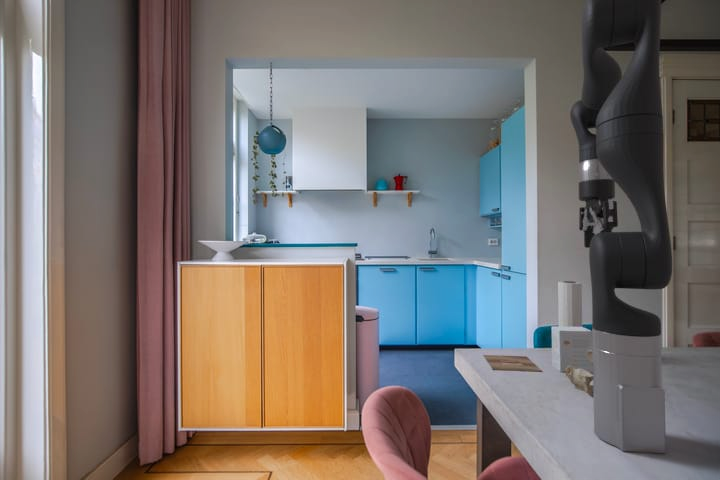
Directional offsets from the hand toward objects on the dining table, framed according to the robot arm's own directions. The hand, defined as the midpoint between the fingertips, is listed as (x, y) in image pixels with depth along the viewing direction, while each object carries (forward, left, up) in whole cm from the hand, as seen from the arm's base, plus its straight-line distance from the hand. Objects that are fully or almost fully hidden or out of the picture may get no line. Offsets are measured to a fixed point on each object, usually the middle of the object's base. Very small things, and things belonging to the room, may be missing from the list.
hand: (597, 247), depth 94 cm
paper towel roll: (+19, -1, -31) cm, 37 cm away
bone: (-10, +7, -31) cm, 34 cm away
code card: (+10, +18, -31) cm, 37 cm away
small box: (+6, +4, -31) cm, 32 cm away
